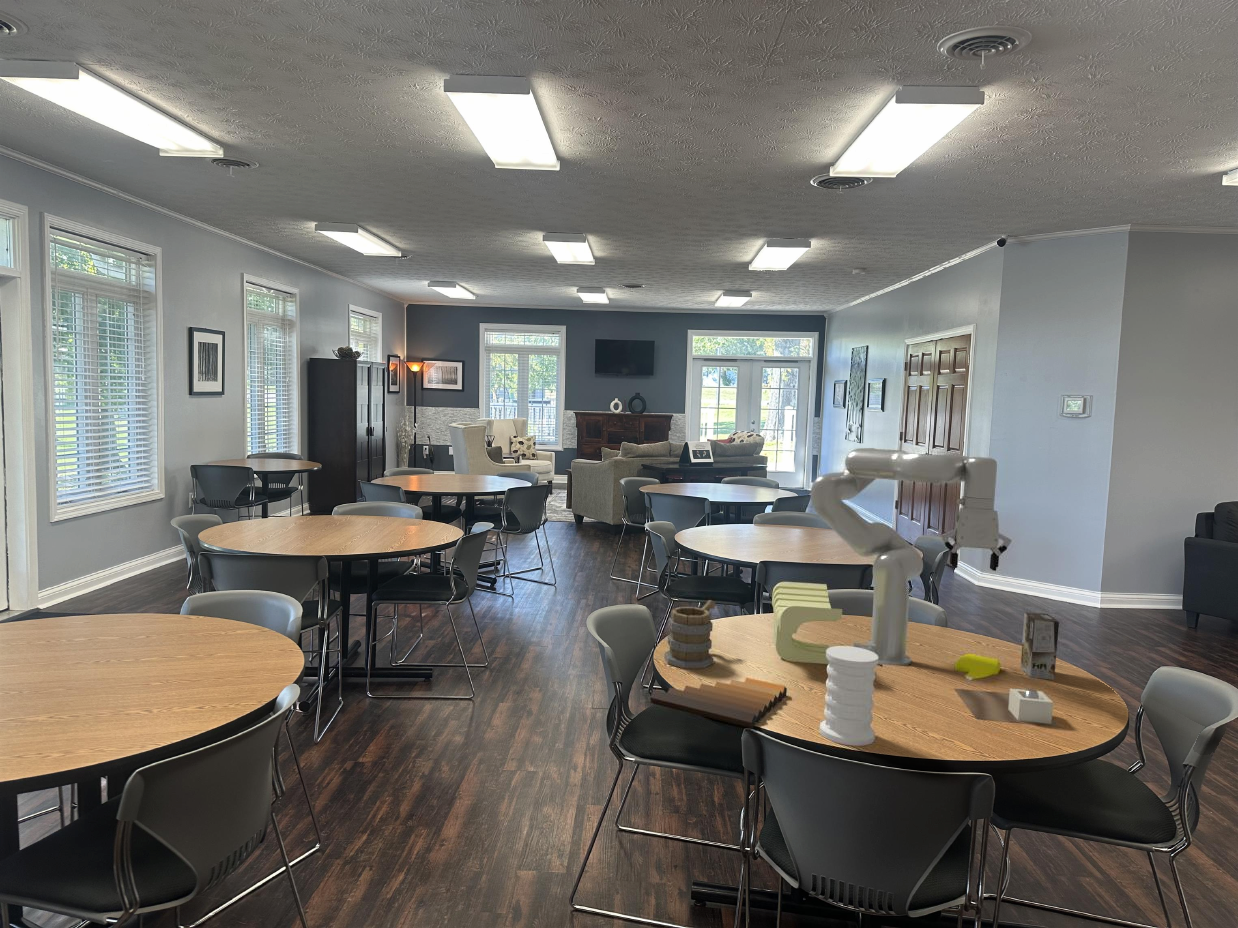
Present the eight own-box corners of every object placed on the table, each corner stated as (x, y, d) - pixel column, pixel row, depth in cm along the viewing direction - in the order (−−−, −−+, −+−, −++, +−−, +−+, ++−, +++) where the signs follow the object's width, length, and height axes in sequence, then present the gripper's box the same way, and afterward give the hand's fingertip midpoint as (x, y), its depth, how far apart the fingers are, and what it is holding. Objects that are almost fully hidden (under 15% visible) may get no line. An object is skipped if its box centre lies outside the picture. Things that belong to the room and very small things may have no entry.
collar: (1018, 720, 178) (1019, 699, 178) (1008, 708, 185) (1009, 688, 185) (1051, 723, 177) (1053, 702, 177) (1040, 712, 184) (1041, 691, 183)
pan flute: (649, 705, 183) (750, 731, 171) (650, 691, 183) (751, 716, 171) (693, 676, 205) (786, 697, 193) (694, 663, 205) (787, 683, 192)
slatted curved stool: (770, 637, 241) (773, 580, 240) (823, 641, 239) (826, 584, 238) (777, 669, 211) (781, 604, 210) (838, 674, 209) (842, 609, 208)
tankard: (696, 672, 207) (698, 616, 206) (656, 661, 214) (659, 607, 213) (733, 654, 223) (735, 603, 222) (695, 645, 230) (697, 595, 229)
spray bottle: (1003, 670, 220) (983, 695, 200) (961, 661, 226) (939, 685, 206) (1003, 660, 219) (984, 684, 200) (962, 651, 226) (940, 674, 206)
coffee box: (1055, 680, 212) (1060, 621, 211) (1029, 677, 213) (1034, 619, 212) (1044, 669, 221) (1048, 613, 220) (1019, 666, 222) (1024, 611, 221)
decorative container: (837, 719, 178) (842, 642, 177) (884, 736, 170) (890, 655, 169) (809, 732, 170) (814, 651, 169) (857, 750, 162) (862, 665, 161)
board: (975, 725, 178) (976, 718, 178) (953, 694, 198) (953, 688, 198) (1060, 733, 175) (1061, 727, 175) (1029, 701, 195) (1029, 695, 195)
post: (1025, 717, 180) (1027, 692, 179) (1022, 713, 182) (1024, 688, 182) (1036, 718, 180) (1038, 693, 179) (1033, 714, 182) (1035, 689, 181)
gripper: (947, 503, 203) (942, 568, 204) (1018, 507, 200) (1013, 573, 201) (940, 500, 210) (935, 563, 212) (1008, 504, 208) (1003, 568, 209)
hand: (973, 568), depth 207 cm, fingers open, 9 cm apart
